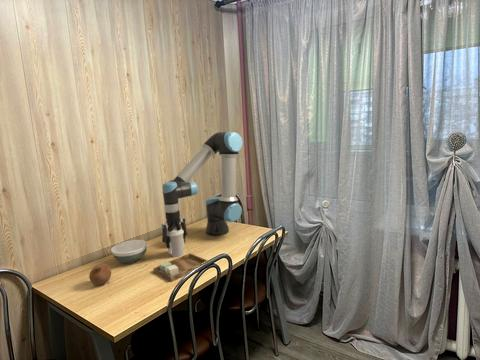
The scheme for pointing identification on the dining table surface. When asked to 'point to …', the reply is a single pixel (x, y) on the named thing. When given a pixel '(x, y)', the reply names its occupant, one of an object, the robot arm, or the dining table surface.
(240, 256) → the dining table surface
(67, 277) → the dining table surface
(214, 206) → the robot arm
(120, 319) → the dining table surface
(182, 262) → the tray
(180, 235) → the coffee cup
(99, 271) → the onion
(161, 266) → the sage block
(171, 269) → the cream block
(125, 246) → the bowl
